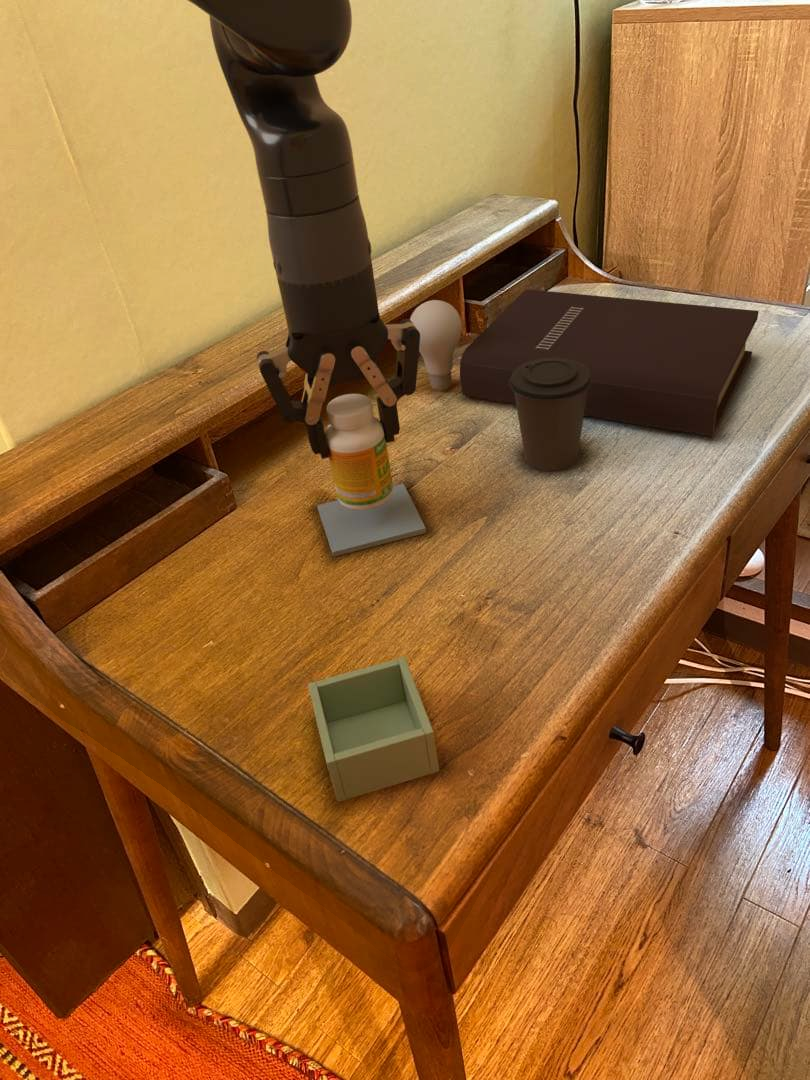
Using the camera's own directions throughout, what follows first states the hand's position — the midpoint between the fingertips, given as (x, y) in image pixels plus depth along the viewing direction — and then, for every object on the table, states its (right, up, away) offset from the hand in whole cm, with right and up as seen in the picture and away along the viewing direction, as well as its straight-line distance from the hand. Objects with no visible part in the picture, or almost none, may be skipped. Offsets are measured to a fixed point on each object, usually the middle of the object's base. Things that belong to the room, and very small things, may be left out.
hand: (356, 445), depth 74 cm
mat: (+1, -7, +5) cm, 9 cm away
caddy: (+2, -23, -16) cm, 28 cm away
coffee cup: (+20, 0, +10) cm, 22 cm away
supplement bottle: (+1, -4, +4) cm, 6 cm away
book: (+28, +10, +21) cm, 37 cm away
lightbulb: (+9, +9, +24) cm, 28 cm away
